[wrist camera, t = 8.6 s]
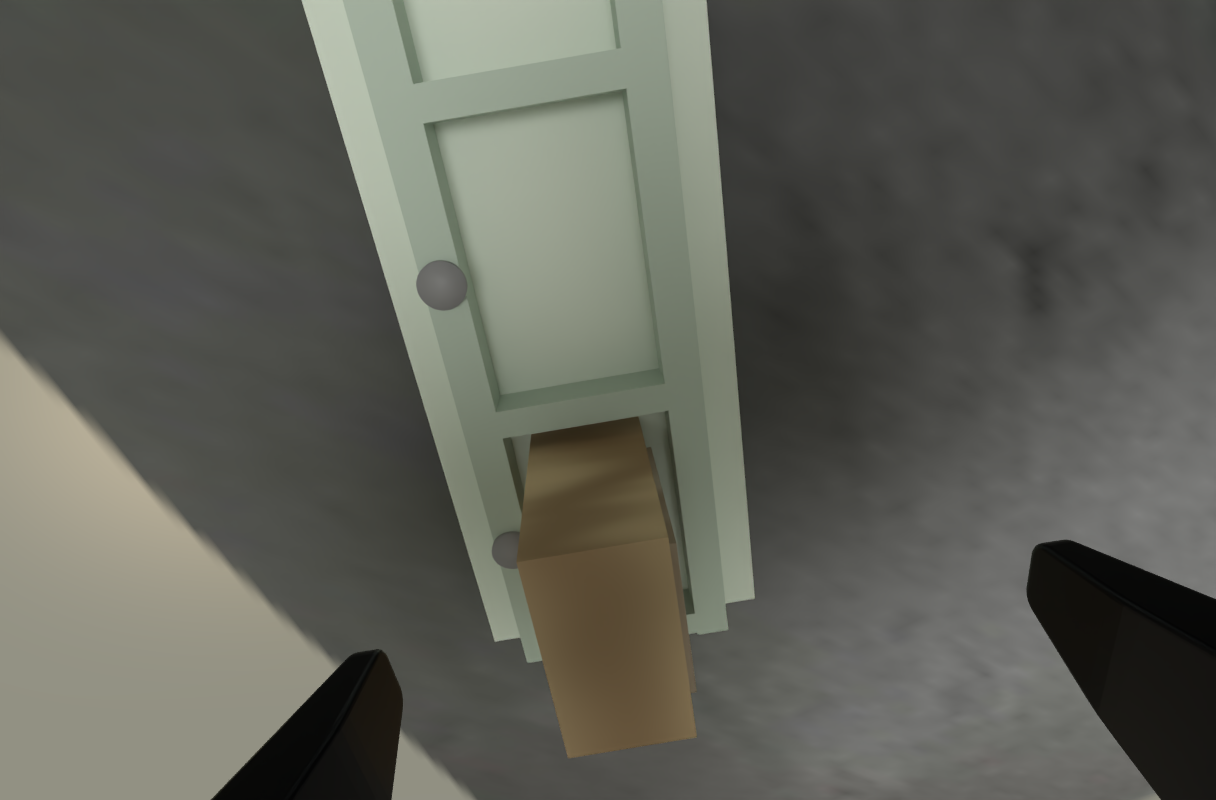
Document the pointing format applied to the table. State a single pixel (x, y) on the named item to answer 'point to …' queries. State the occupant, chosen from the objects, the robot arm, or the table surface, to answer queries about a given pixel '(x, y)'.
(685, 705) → the tan rectangular box
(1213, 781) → the robot arm
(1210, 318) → the table surface
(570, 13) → the rail board
